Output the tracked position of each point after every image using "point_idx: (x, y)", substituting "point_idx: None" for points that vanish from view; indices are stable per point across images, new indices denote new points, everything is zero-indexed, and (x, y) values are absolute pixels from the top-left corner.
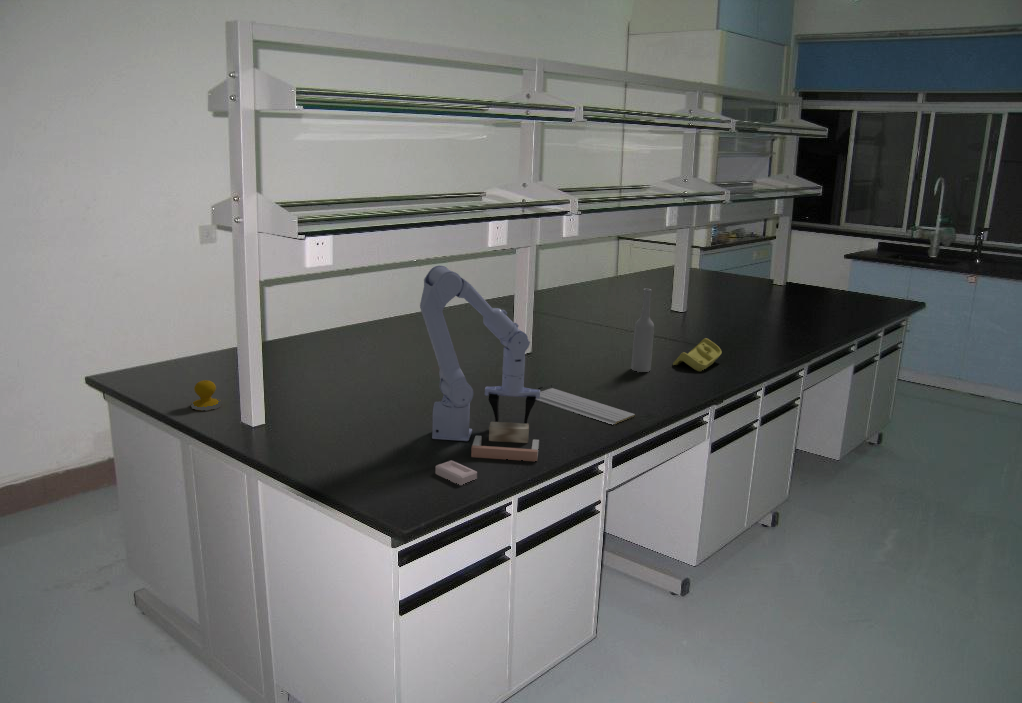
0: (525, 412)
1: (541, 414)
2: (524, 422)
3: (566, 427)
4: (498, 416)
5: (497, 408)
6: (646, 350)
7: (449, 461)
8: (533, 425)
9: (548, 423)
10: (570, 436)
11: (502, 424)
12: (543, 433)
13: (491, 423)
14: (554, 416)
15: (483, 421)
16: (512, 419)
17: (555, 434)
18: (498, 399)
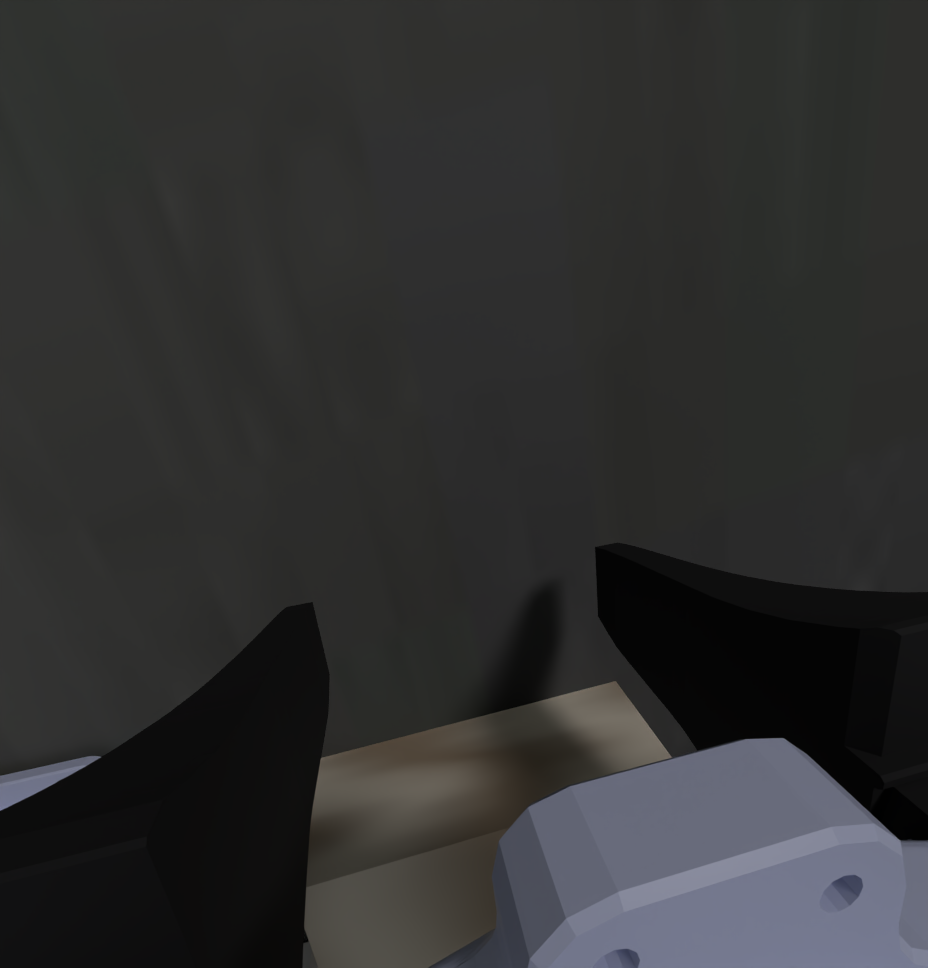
0: (688, 733)
1: (699, 8)
2: (609, 630)
3: (904, 365)
4: (312, 663)
5: (304, 863)
6: None
7: None
8: (635, 410)
9: (765, 308)
10: (905, 549)
11: (438, 896)
12: (722, 565)
13: (319, 924)
14: (832, 52)
15: (102, 468)
16: (404, 298)
17: (808, 551)
18: (248, 891)
